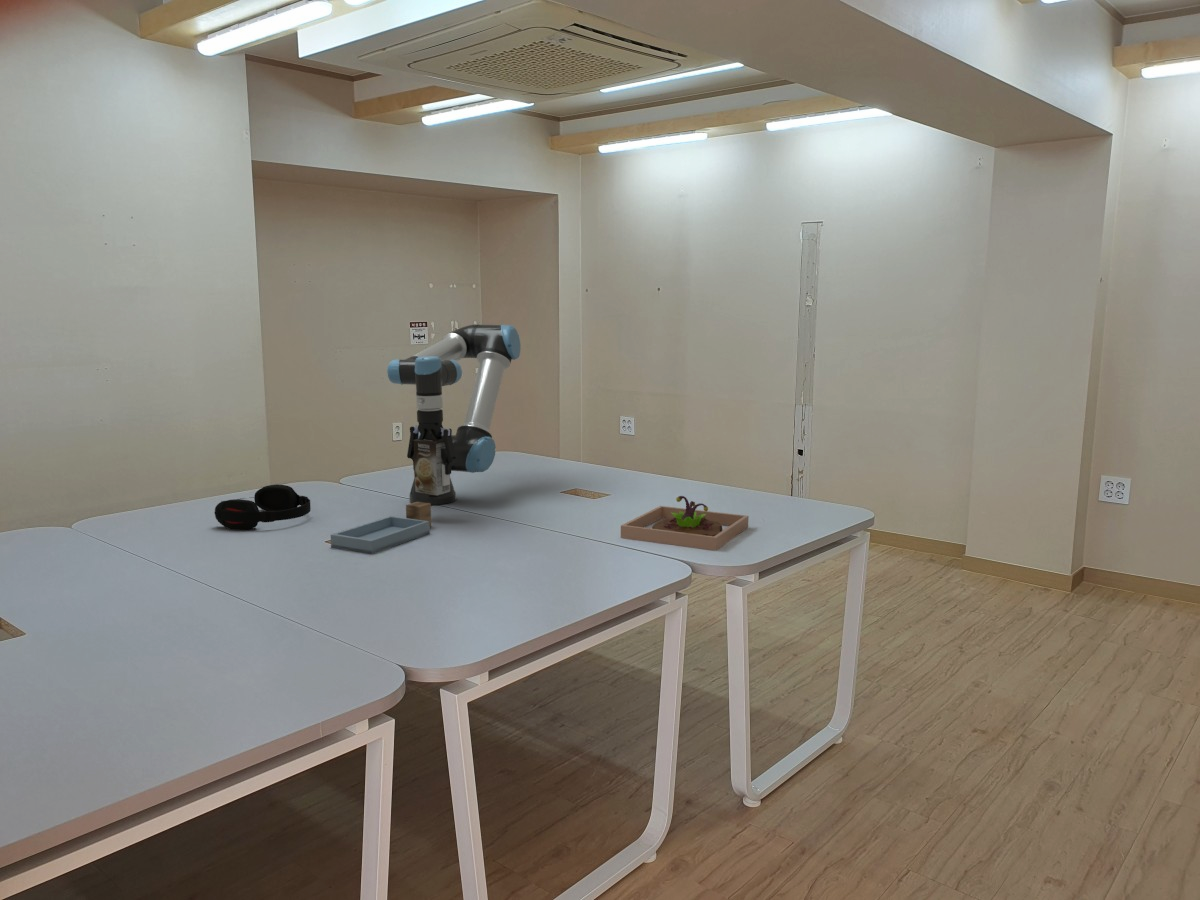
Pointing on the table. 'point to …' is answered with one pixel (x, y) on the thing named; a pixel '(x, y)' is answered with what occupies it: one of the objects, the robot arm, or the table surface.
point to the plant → (689, 521)
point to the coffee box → (429, 467)
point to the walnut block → (419, 511)
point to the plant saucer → (638, 532)
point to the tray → (380, 534)
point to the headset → (271, 499)
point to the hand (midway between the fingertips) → (432, 483)
